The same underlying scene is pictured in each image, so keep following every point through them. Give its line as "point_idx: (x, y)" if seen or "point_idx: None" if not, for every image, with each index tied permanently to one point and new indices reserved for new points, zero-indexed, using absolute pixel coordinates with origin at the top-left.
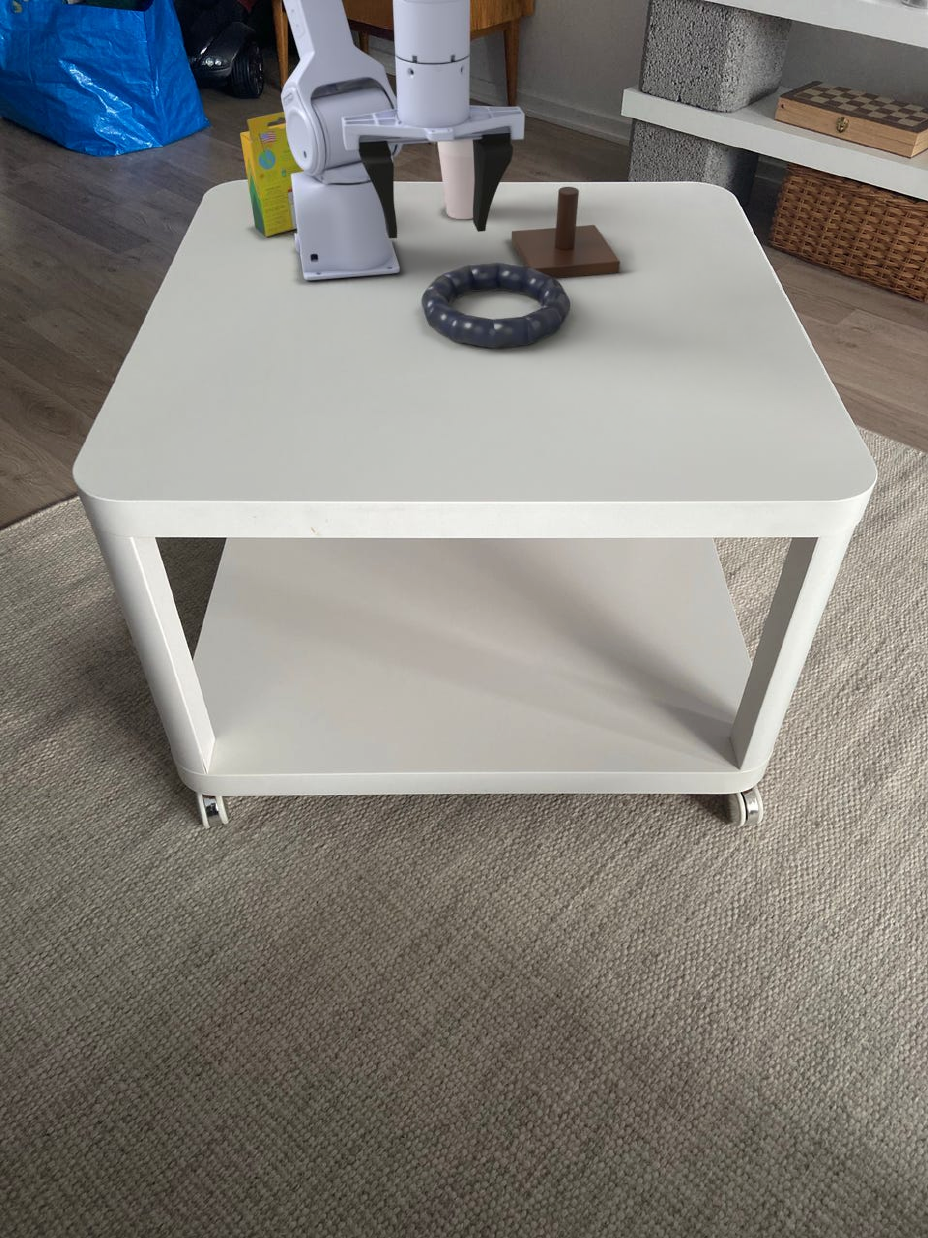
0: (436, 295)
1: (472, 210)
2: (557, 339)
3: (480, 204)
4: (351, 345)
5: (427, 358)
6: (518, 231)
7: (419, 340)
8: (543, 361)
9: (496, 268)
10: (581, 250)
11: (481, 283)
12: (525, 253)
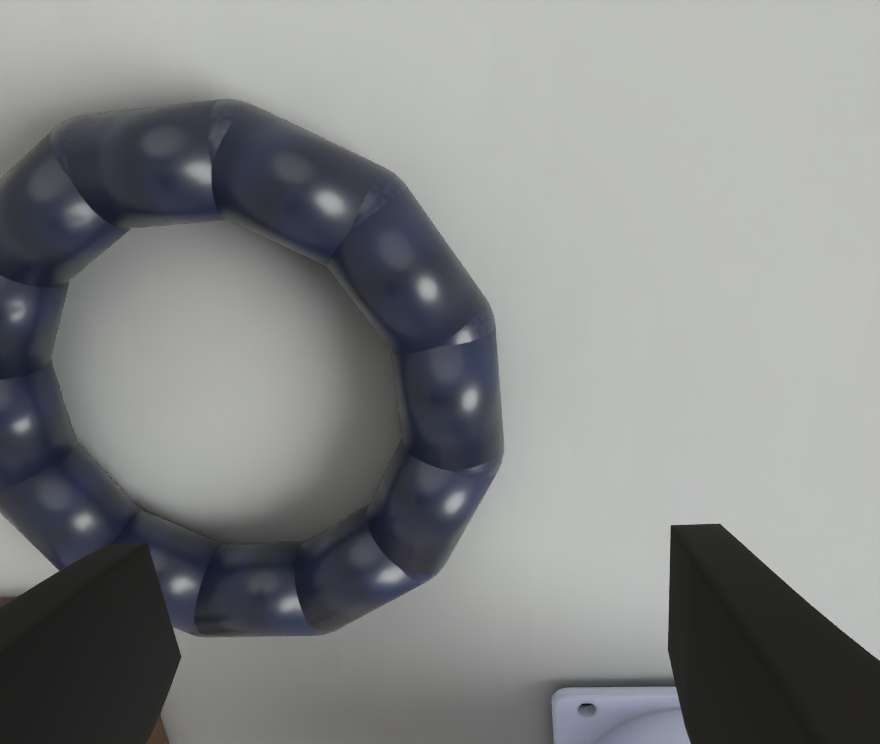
0: (444, 417)
1: None
2: None
3: (17, 652)
4: (814, 218)
5: (516, 78)
6: None
7: (533, 231)
8: (51, 10)
9: (205, 596)
10: None
11: (273, 548)
12: None
